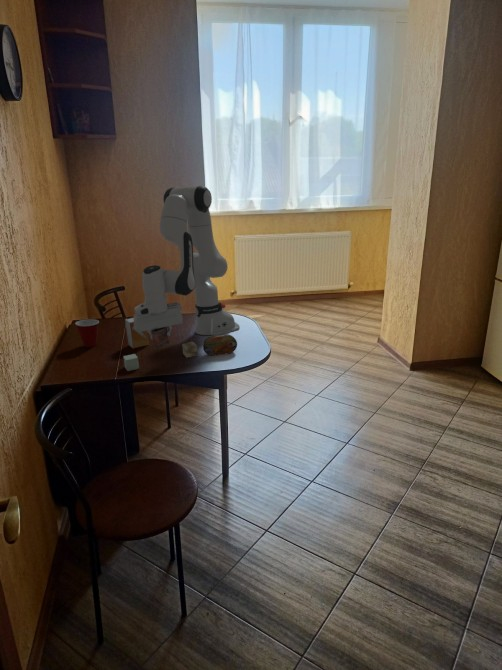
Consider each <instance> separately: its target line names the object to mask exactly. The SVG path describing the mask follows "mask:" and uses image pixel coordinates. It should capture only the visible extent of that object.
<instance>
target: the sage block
mask: <svg viewBox="0 0 502 670" xmlns="http://www.w3.org/2000/svg"><path fill="white" fill-rule="evenodd" d="M123 364H124V368H125V370H126V371H127V372H130V371H135V370H138V369H140V364H139V358H138V356H137V355H136V353H132V354H128V355H123Z"/></svg>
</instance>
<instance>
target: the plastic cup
mask: <svg viewBox="0 0 502 670" xmlns="http://www.w3.org/2000/svg"><path fill="white" fill-rule="evenodd" d="M74 324H75V325H76V328H77V331H78V332H79V333H78V334H79V335H80V338H81V340H82V343H83V346H84V347H85V348H93V347H96V346H97V345H98V328H99V324H100V321H99V320H98V319H93V318H91V319H81V320H78V321H76V322H75V323H74Z"/></svg>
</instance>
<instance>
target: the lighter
mask: <svg viewBox="0 0 502 670" xmlns="http://www.w3.org/2000/svg"><path fill="white" fill-rule="evenodd" d="M155 328H156V326H155ZM167 331H168V326H167V327H162V328H157V329H152V330H151V334H153V341H152V342H153V348H154V349H155V350H157V349H161V348H163V347H166V346H167V345H169V344H170V340H169V336H167V335H166V332H167Z"/></svg>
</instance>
